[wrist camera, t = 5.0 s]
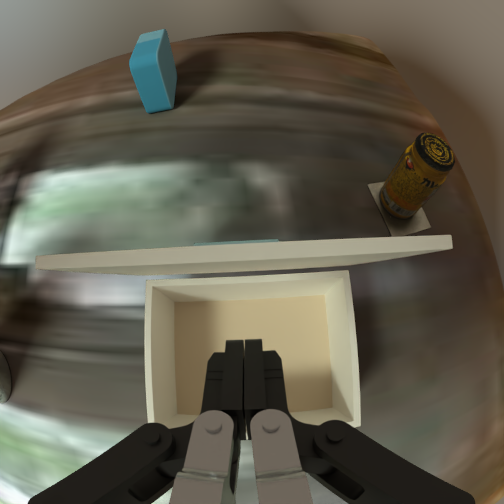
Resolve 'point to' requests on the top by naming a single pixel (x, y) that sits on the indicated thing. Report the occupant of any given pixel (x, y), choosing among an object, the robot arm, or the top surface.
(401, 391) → the top surface
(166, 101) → the data package
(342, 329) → the box
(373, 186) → the condiment
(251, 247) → the lid
